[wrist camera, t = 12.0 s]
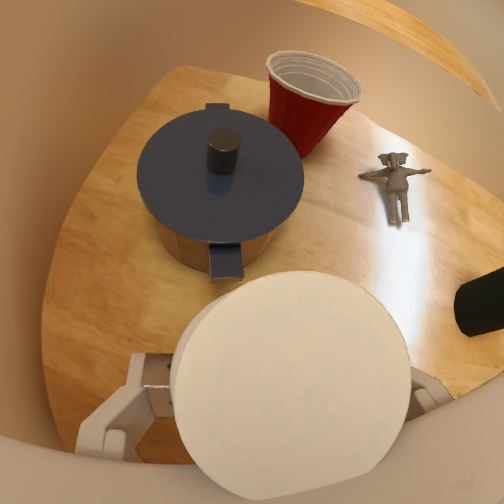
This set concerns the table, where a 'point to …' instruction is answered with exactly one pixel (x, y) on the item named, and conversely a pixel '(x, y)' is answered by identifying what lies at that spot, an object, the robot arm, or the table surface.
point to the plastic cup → (308, 96)
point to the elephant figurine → (396, 182)
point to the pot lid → (220, 177)
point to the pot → (214, 248)
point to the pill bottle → (290, 384)
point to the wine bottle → (481, 304)
